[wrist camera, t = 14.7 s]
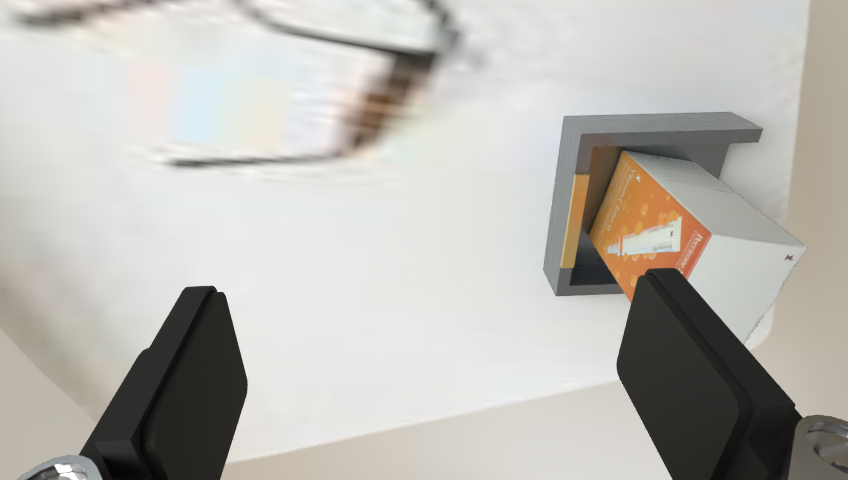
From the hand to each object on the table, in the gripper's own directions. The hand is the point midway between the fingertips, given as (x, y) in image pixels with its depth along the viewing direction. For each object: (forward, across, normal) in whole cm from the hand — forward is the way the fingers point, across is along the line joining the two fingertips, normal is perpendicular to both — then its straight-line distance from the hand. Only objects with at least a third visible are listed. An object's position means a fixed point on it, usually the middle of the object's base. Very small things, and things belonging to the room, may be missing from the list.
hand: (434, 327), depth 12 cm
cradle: (+28, -18, +11) cm, 36 cm away
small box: (+28, -19, +11) cm, 35 cm away
